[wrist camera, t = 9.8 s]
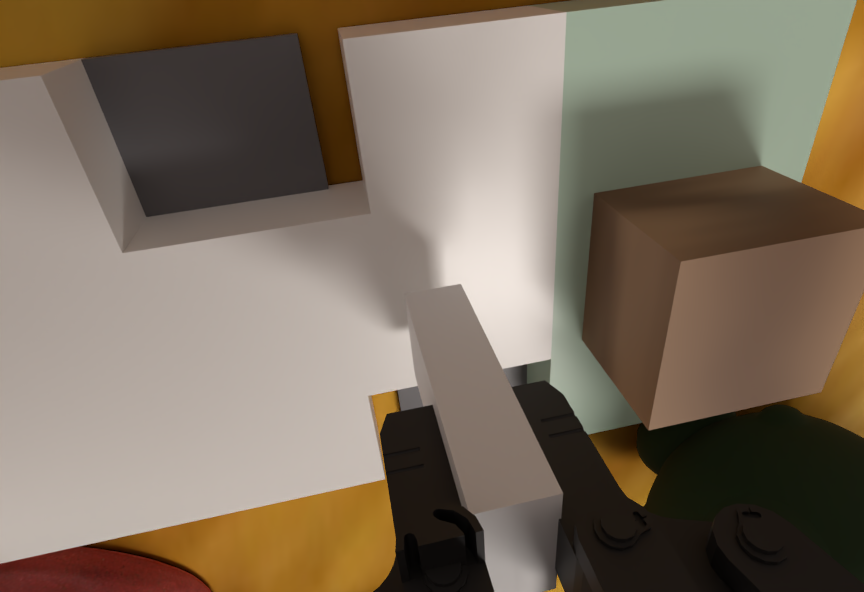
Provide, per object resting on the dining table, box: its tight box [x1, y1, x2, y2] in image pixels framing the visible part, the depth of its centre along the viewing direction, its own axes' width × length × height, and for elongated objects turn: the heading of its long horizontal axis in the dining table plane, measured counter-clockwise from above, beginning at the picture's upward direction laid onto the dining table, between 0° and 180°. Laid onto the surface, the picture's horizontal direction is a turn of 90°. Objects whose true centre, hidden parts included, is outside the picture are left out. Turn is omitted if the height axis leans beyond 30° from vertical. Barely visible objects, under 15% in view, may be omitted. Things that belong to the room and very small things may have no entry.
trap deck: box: [0, 0, 857, 564], centre depth 16 cm, size 27×14×2 cm, turn 95°
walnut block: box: [582, 166, 864, 431], centre depth 14 cm, size 5×5×4 cm
